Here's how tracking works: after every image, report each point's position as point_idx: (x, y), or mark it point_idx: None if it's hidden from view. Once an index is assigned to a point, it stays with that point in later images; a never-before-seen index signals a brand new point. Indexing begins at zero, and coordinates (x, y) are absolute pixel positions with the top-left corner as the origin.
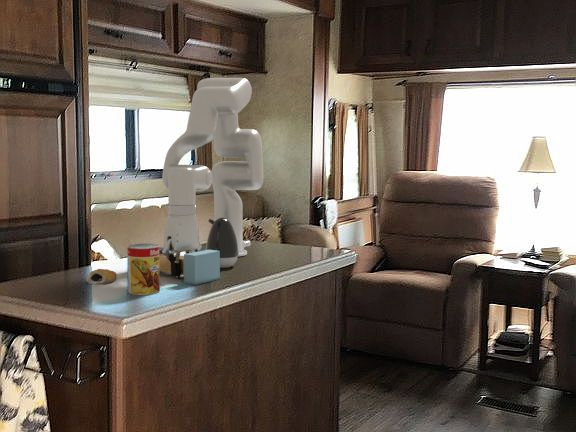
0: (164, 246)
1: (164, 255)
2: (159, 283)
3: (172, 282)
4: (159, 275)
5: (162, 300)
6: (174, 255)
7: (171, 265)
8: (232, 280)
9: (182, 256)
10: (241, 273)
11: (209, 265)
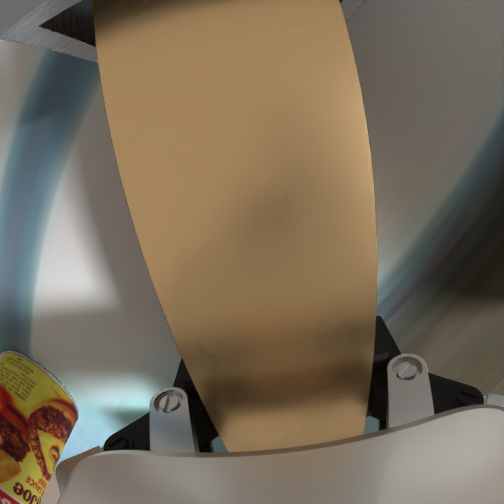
0: (69, 495)
1: (207, 222)
2: (68, 437)
3: (167, 366)
4: (59, 456)
5: (73, 455)
6: (322, 309)
7: (176, 384)
8: None
9: (334, 398)
10: (498, 367)
11: None
